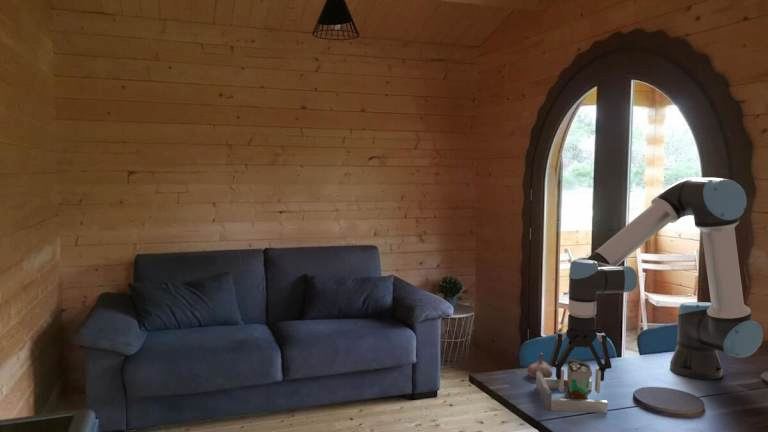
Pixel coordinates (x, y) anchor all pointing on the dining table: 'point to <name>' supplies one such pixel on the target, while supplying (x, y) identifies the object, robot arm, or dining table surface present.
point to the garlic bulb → (540, 368)
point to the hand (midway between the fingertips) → (579, 390)
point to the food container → (578, 379)
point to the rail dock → (566, 404)
